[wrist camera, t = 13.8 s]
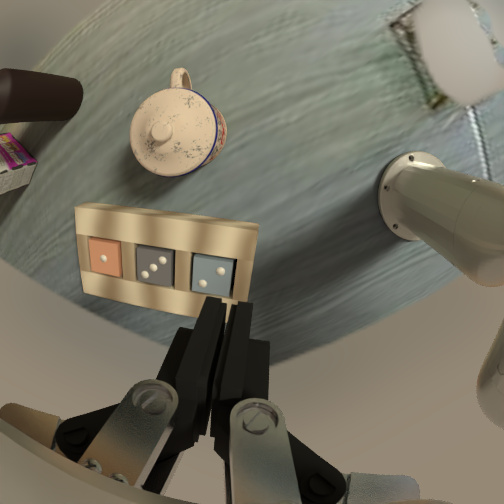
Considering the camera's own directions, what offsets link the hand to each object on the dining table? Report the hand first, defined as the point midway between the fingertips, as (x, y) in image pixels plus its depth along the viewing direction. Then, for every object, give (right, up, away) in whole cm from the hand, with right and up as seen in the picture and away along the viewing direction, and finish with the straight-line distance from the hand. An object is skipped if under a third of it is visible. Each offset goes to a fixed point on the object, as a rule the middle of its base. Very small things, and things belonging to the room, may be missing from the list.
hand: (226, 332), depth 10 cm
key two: (-4, +1, +29) cm, 29 cm away
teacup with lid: (-6, +19, +22) cm, 30 cm away
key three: (-12, +2, +29) cm, 31 cm away
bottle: (-27, +26, +20) cm, 42 cm away
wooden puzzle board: (-12, +2, +29) cm, 31 cm away
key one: (-20, +3, +28) cm, 35 cm away
